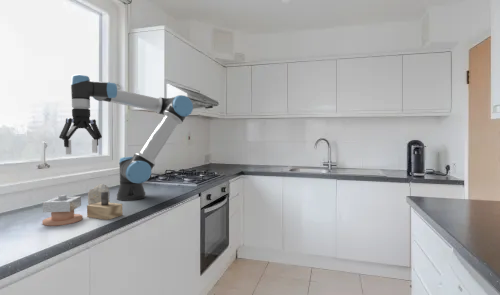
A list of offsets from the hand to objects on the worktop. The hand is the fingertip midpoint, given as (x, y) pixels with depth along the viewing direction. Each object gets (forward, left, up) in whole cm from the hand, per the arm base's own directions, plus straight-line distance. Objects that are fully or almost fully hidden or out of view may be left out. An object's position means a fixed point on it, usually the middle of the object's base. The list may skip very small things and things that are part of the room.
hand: (82, 153), depth 141 cm
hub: (+17, +10, -27) cm, 33 cm away
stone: (-4, +6, -27) cm, 28 cm away
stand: (+5, +20, -27) cm, 34 cm away
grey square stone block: (+17, +10, -22) cm, 29 cm away
